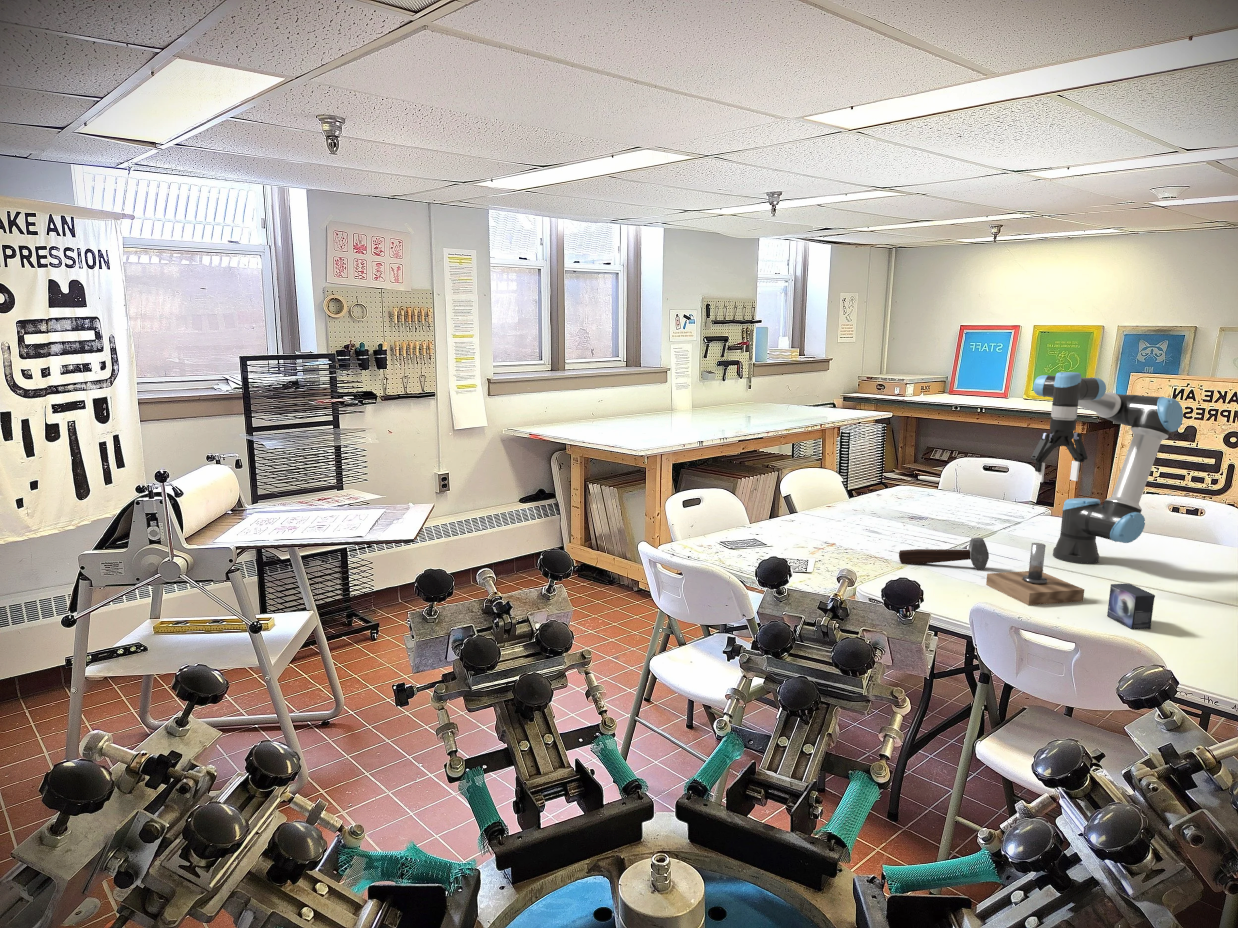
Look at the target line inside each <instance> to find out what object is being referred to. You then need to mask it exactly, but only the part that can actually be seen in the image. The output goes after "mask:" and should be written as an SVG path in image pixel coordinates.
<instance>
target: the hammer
mask: <svg viewBox="0 0 1238 928" xmlns="http://www.w3.org/2000/svg"><path fill="white" fill-rule="evenodd" d="M988 549H989V548H988V546H987V543H986V541H985V539H984V538H983V537H972V538H971V539H970V541H969V545H968V549H959V548H958V549H955V548H953V549H945V548H944V549H941V548H935V549H933V548H927V549H926V548H920V549H919V548H915V549H902V550H901V549H900V550H899V552H898V559H899V561H900V563H901V565H925V564H933V563H935V564H937V563H938V564H939V563H947V562H955V561H957V562H959V561H967V560H970V561H971V564H972V566H973V567H974V568H975V569H976V570H977V571H984V570H985V569H986V568H987V564H988V561H989V559H990V557H989V556H990V555H989V550H988Z"/></svg>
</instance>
